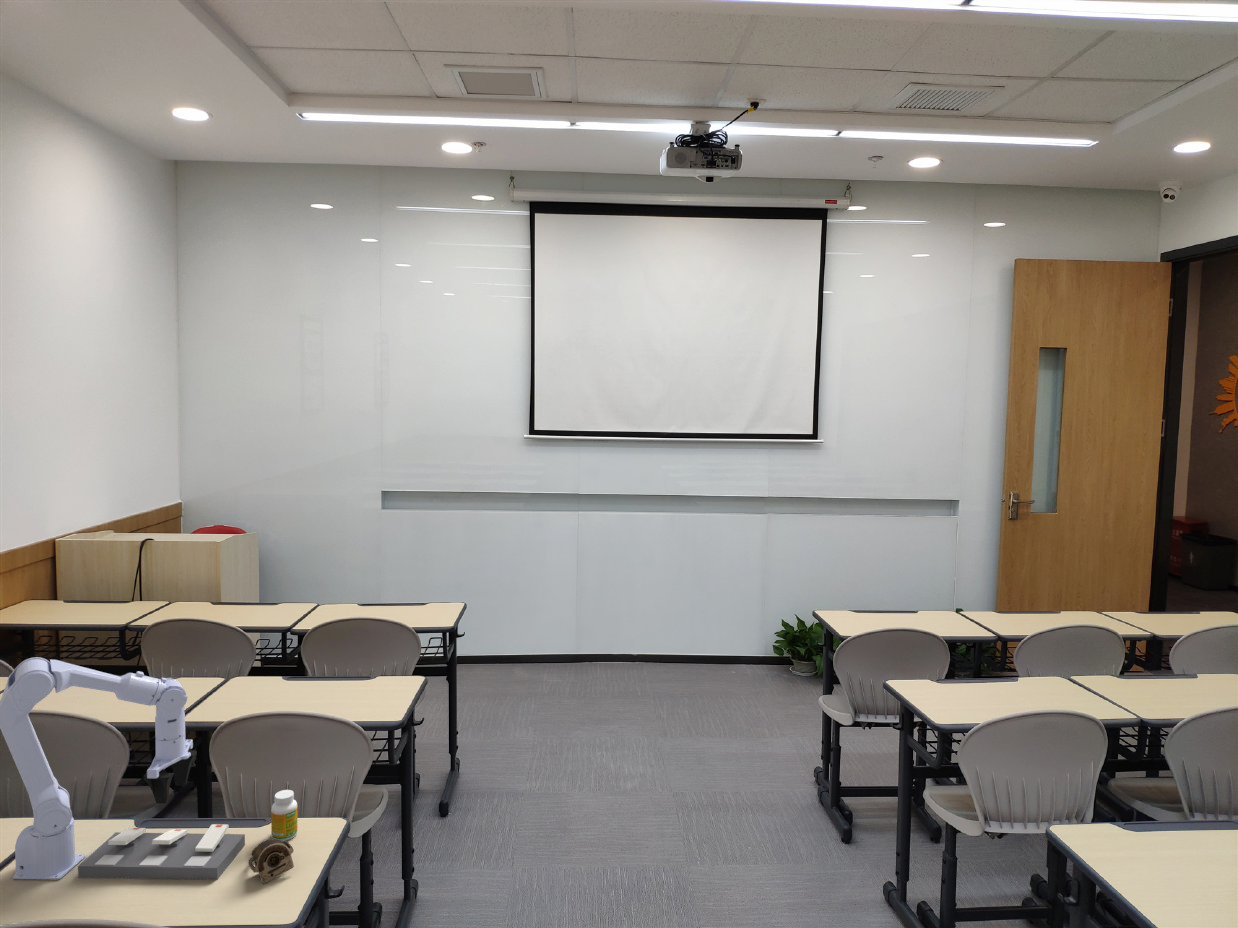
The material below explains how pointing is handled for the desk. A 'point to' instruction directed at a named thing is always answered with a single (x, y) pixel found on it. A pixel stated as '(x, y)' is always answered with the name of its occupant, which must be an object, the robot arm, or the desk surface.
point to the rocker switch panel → (161, 858)
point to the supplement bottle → (284, 816)
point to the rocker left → (126, 836)
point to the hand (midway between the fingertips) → (171, 793)
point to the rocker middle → (169, 837)
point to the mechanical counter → (271, 859)
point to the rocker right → (212, 838)
